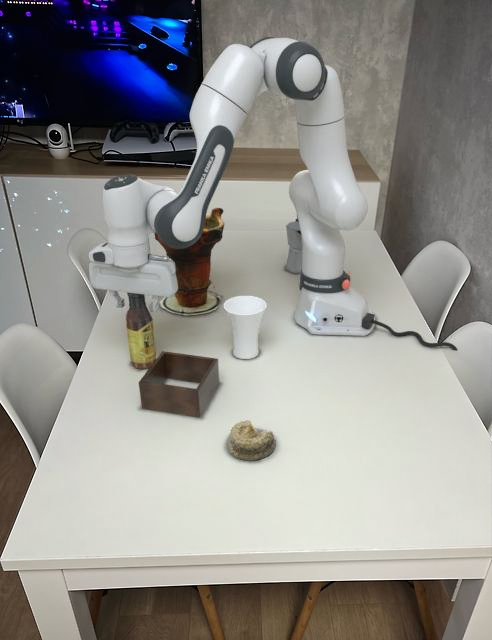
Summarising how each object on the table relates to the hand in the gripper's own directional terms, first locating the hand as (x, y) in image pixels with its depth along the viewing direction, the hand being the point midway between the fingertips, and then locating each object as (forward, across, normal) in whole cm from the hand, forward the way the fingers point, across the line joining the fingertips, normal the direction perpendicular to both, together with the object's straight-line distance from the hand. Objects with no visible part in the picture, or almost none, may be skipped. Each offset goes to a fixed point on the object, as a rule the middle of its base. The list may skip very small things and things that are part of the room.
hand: (137, 308), depth 142 cm
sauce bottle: (+15, 0, 0) cm, 15 cm away
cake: (+15, -34, +24) cm, 44 cm away
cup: (+15, -23, -11) cm, 30 cm away
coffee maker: (+15, -25, -68) cm, 74 cm away
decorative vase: (+15, 0, -35) cm, 38 cm away
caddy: (+15, -14, +11) cm, 23 cm away
